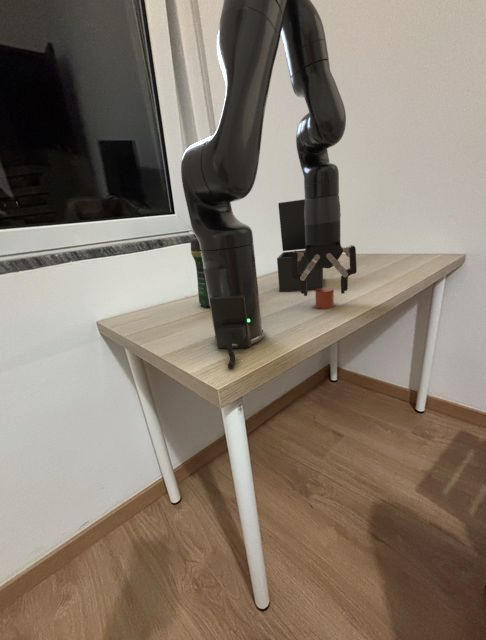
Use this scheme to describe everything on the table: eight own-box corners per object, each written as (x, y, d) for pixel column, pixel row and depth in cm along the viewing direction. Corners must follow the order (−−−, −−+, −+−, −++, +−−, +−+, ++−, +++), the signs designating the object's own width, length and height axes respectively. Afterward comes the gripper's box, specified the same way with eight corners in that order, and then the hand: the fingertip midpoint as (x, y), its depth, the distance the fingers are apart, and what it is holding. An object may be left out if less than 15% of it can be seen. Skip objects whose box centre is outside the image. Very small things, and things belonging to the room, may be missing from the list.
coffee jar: (209, 309, 83) (197, 237, 75) (196, 305, 89) (183, 237, 82) (238, 301, 88) (230, 232, 80) (224, 297, 94) (215, 233, 86)
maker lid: (321, 197, 88) (321, 194, 92) (278, 203, 92) (280, 200, 96) (322, 247, 96) (322, 242, 100) (282, 251, 100) (284, 246, 104)
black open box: (322, 289, 89) (322, 254, 85) (279, 291, 92) (276, 258, 88) (323, 279, 101) (322, 248, 97) (284, 282, 104) (282, 252, 100)
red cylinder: (334, 308, 71) (333, 291, 69) (315, 309, 72) (314, 292, 70) (333, 303, 75) (333, 287, 73) (316, 304, 76) (315, 288, 74)
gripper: (287, 225, 65) (292, 300, 71) (359, 217, 61) (357, 296, 68) (290, 223, 71) (295, 292, 78) (355, 215, 68) (354, 288, 74)
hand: (324, 294), depth 73 cm, fingers open, 8 cm apart
